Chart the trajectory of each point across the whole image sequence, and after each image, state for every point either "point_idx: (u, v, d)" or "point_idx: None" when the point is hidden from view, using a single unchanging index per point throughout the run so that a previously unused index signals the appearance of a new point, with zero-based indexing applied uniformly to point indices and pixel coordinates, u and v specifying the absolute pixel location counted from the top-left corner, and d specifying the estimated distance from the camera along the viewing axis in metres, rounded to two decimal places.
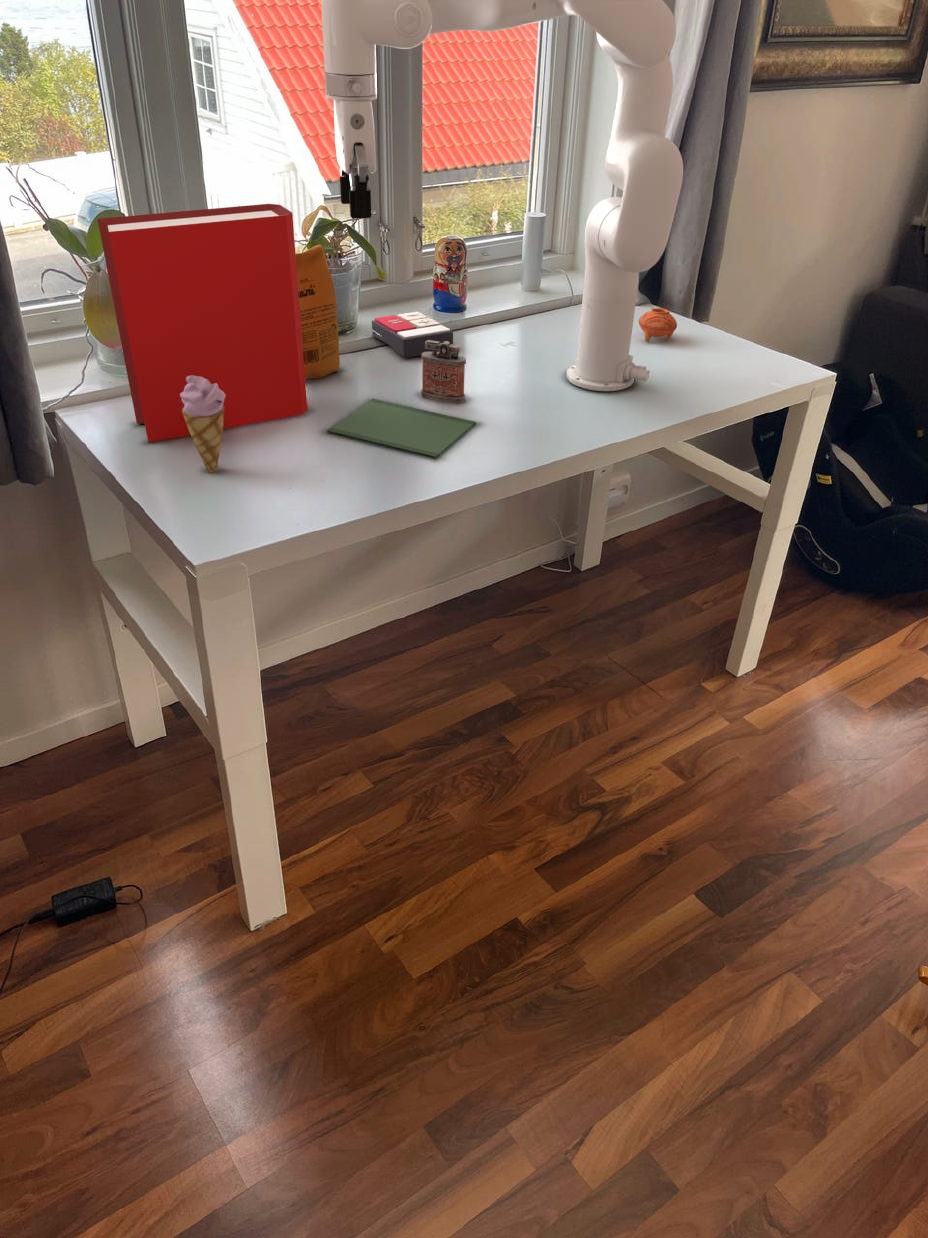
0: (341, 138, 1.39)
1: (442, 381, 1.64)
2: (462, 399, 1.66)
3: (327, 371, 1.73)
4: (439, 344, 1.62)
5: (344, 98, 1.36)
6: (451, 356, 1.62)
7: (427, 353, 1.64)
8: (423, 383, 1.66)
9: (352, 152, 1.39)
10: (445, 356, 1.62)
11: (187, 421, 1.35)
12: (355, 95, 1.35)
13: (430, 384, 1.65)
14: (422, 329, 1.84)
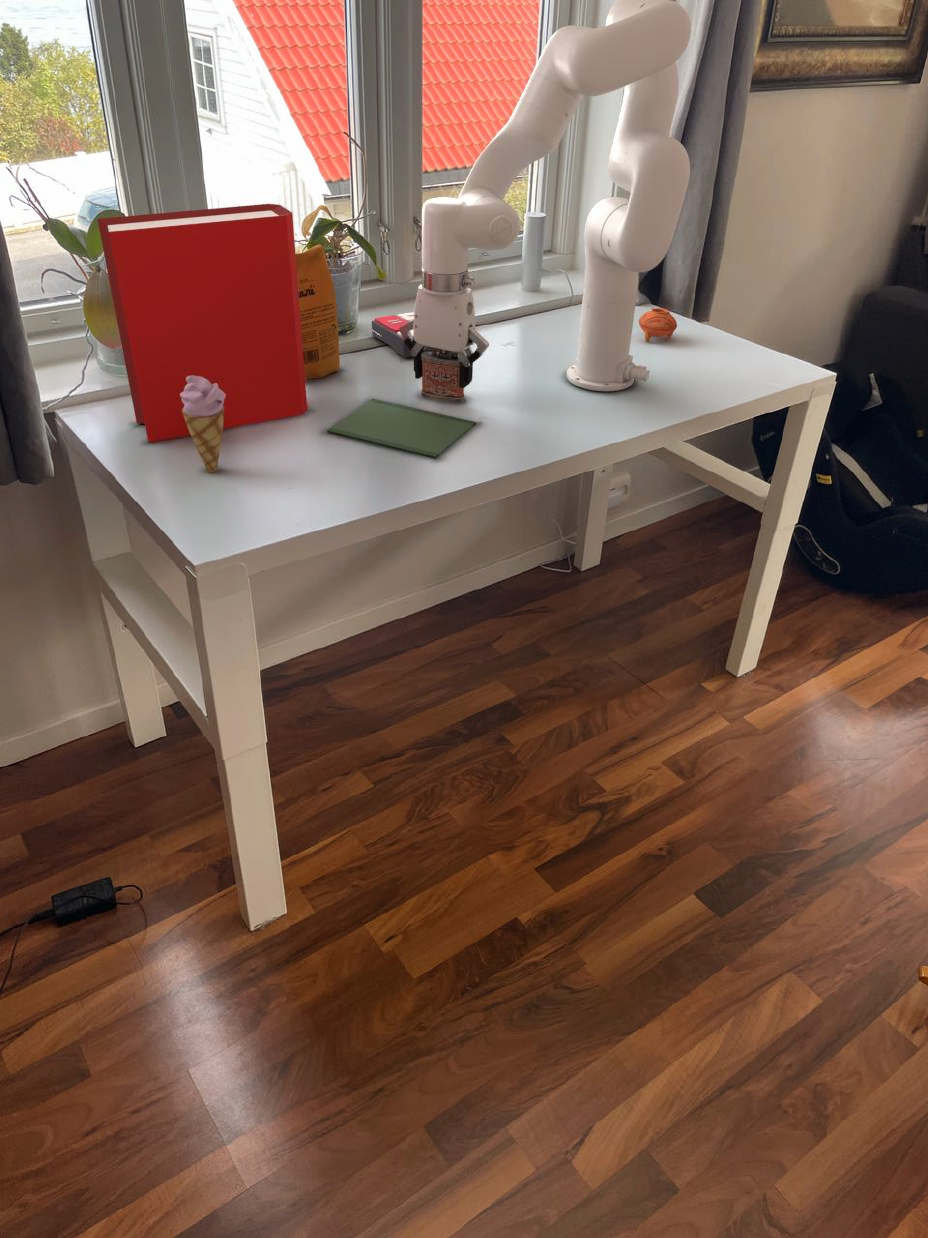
0: (456, 325, 1.56)
1: (442, 381, 1.64)
2: (462, 399, 1.66)
3: (327, 371, 1.73)
4: None
5: (458, 292, 1.54)
6: (451, 356, 1.62)
7: (427, 353, 1.64)
8: (423, 383, 1.66)
9: (467, 334, 1.58)
10: (445, 356, 1.62)
11: (187, 421, 1.35)
12: (465, 287, 1.54)
13: (430, 384, 1.65)
14: None
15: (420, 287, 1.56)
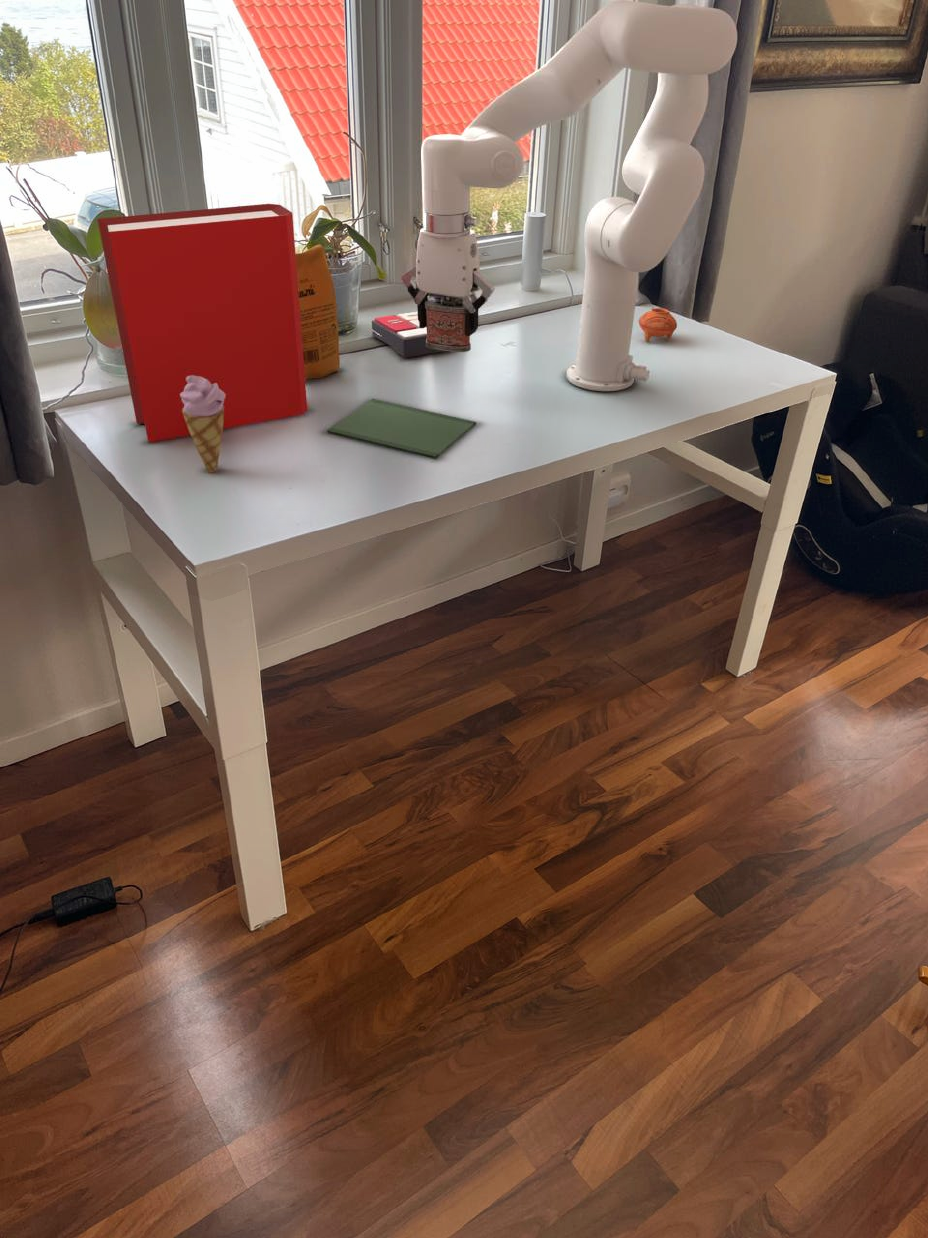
0: (459, 268, 1.51)
1: (447, 330, 1.59)
2: (468, 348, 1.61)
3: (327, 371, 1.73)
4: None
5: (461, 233, 1.48)
6: (455, 303, 1.57)
7: (431, 301, 1.59)
8: (428, 333, 1.61)
9: (472, 278, 1.52)
10: (449, 303, 1.57)
11: (187, 421, 1.35)
12: (468, 229, 1.49)
13: (435, 334, 1.60)
14: (422, 329, 1.84)
15: (422, 230, 1.51)
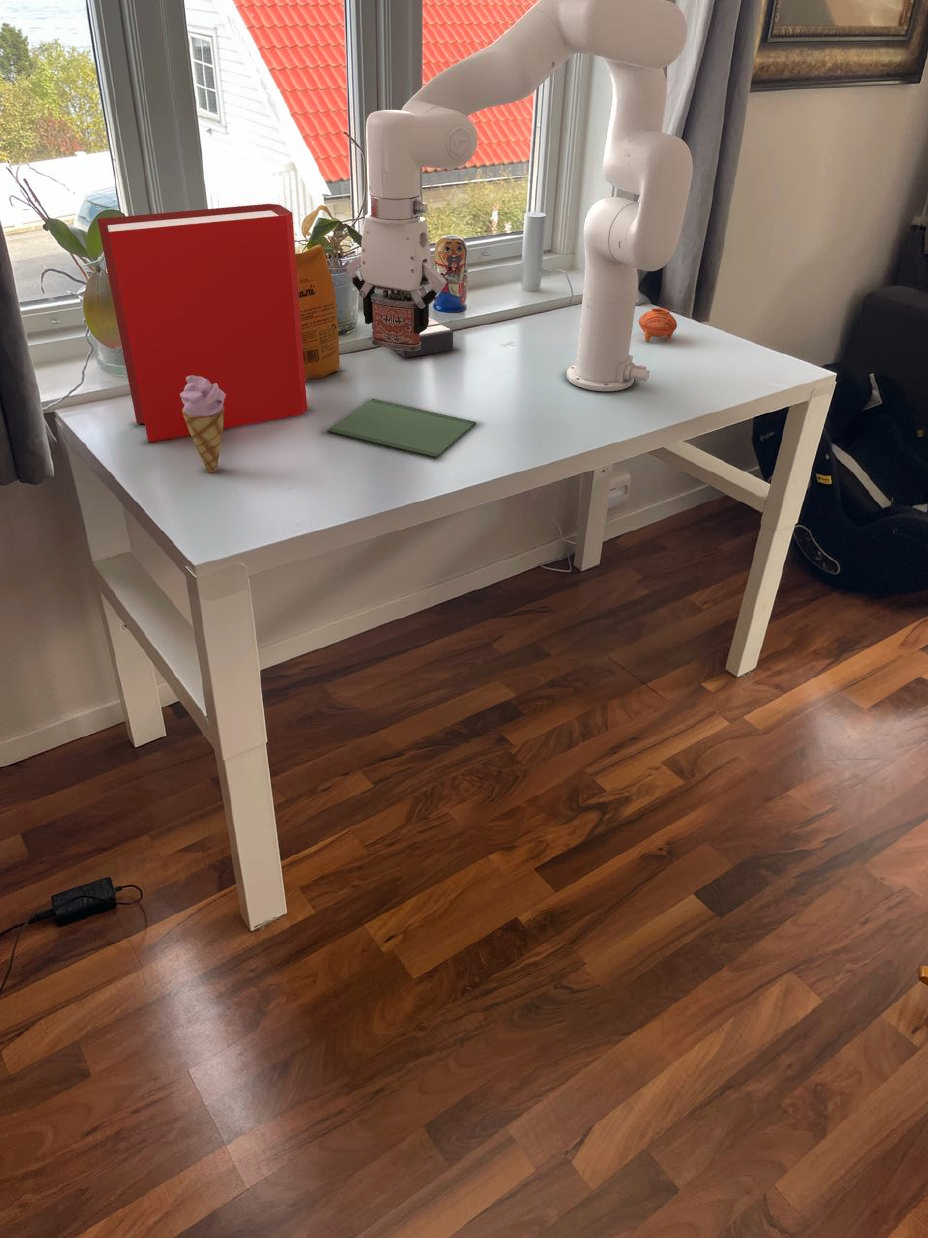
0: (407, 259, 1.37)
1: (395, 326, 1.45)
2: (418, 347, 1.47)
3: (327, 371, 1.73)
4: None
5: (409, 220, 1.35)
6: (404, 297, 1.43)
7: (378, 294, 1.45)
8: (374, 329, 1.47)
9: (421, 270, 1.39)
10: (397, 297, 1.43)
11: (187, 421, 1.35)
12: (417, 215, 1.35)
13: (381, 330, 1.47)
14: None
15: (367, 216, 1.37)
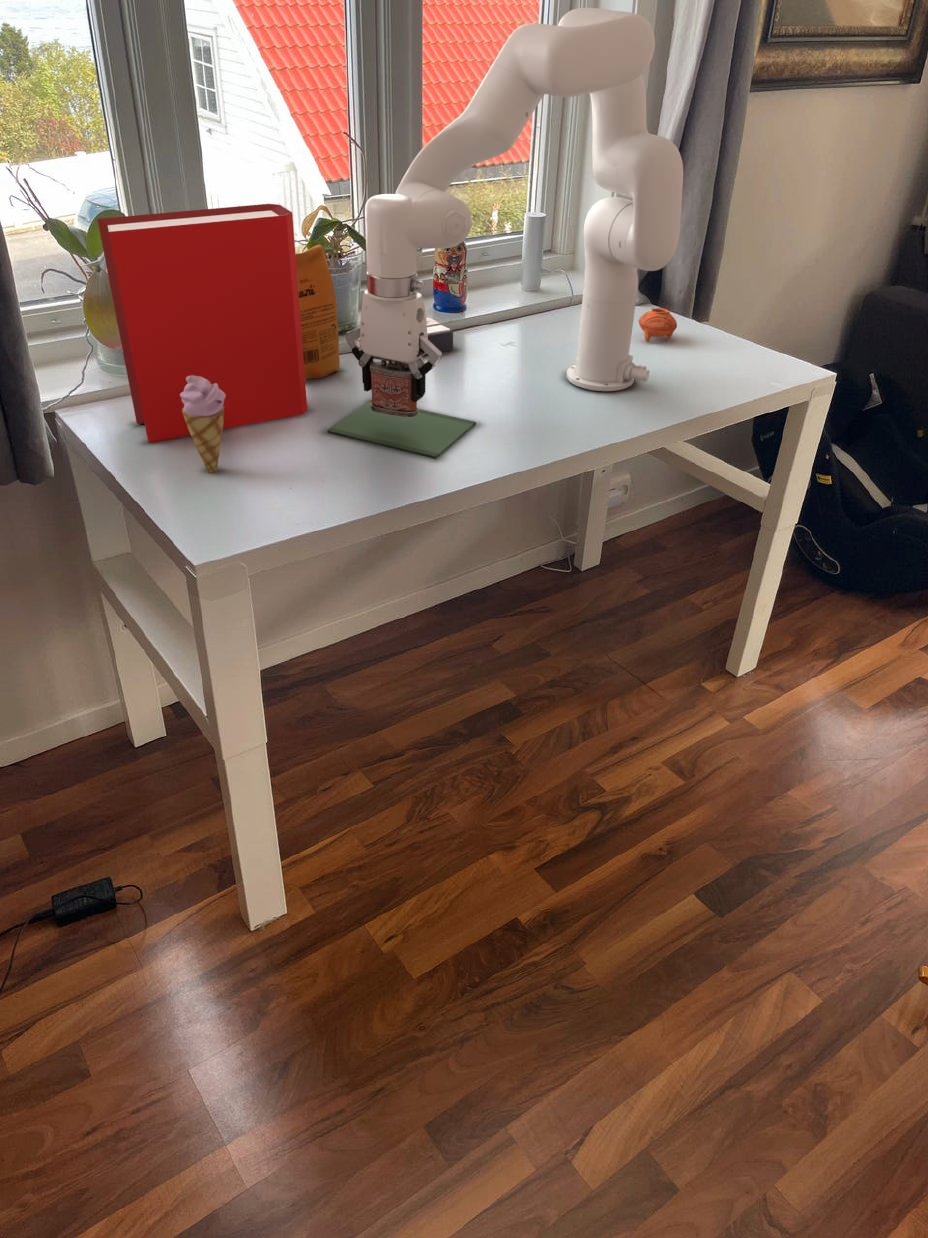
0: (405, 333, 1.43)
1: (393, 394, 1.51)
2: (415, 414, 1.52)
3: (327, 371, 1.73)
4: None
5: (407, 297, 1.40)
6: (401, 367, 1.49)
7: (376, 364, 1.51)
8: (373, 396, 1.53)
9: (418, 343, 1.44)
10: (395, 367, 1.49)
11: (187, 421, 1.35)
12: (414, 292, 1.41)
13: (380, 398, 1.52)
14: None
15: (366, 292, 1.43)
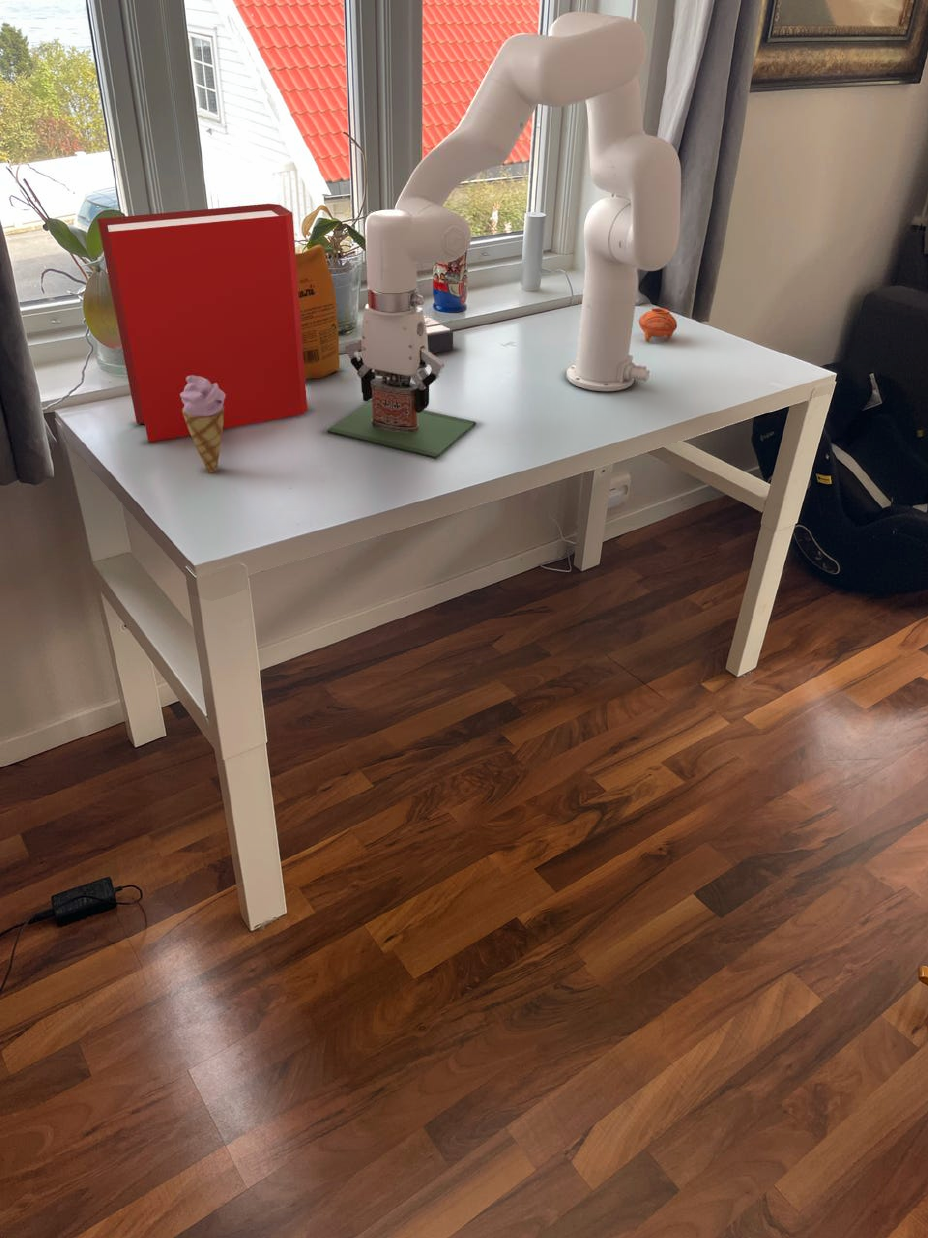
0: (405, 347, 1.44)
1: (393, 410, 1.52)
2: (415, 429, 1.54)
3: (327, 371, 1.73)
4: None
5: (407, 312, 1.42)
6: (402, 384, 1.51)
7: (377, 380, 1.52)
8: (374, 412, 1.54)
9: (419, 356, 1.46)
10: (396, 384, 1.50)
11: (187, 421, 1.35)
12: (414, 307, 1.42)
13: (380, 413, 1.54)
14: None
15: (367, 307, 1.44)
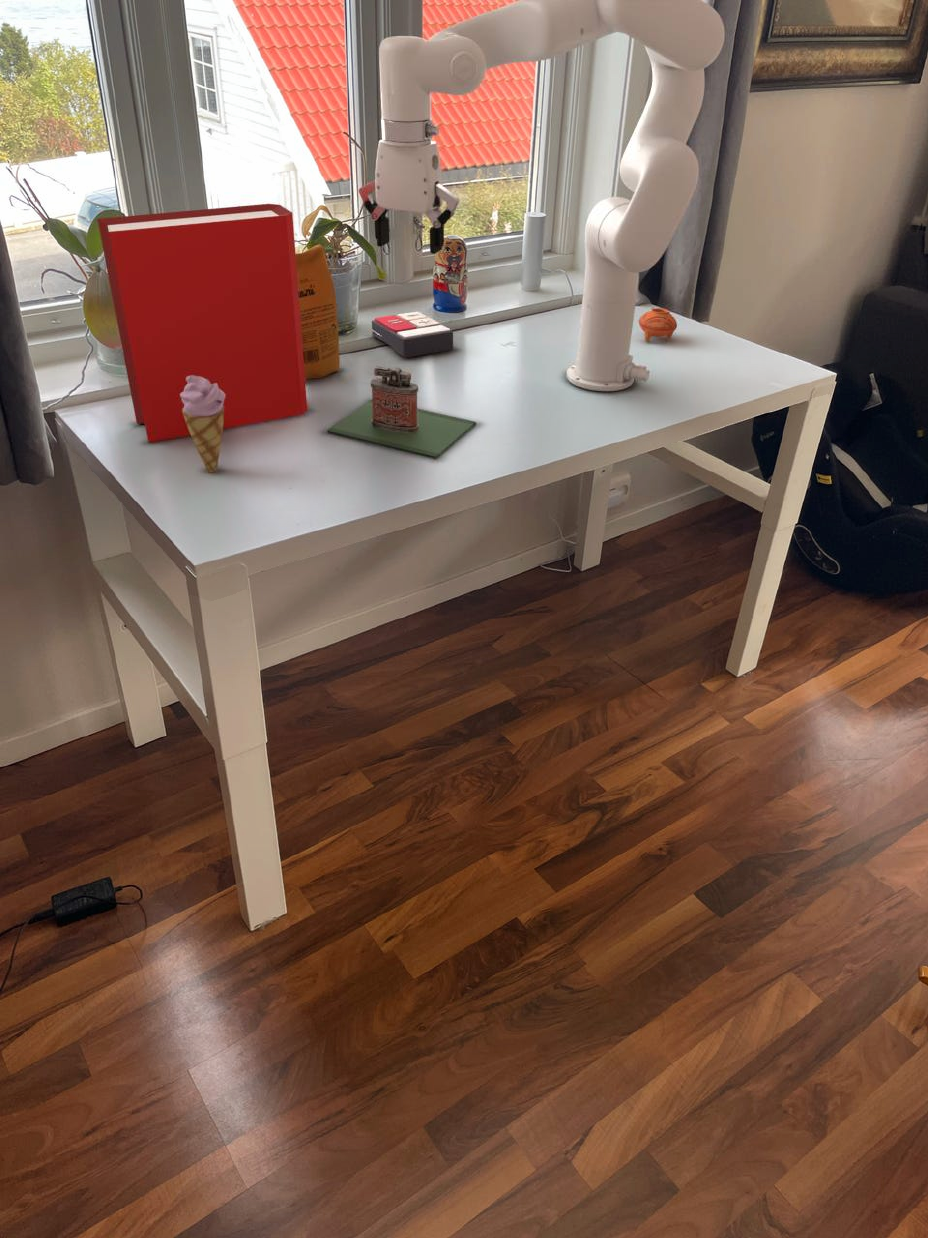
0: (420, 181, 1.44)
1: (393, 410, 1.52)
2: (415, 429, 1.54)
3: (327, 371, 1.73)
4: (389, 371, 1.50)
5: (422, 143, 1.42)
6: (402, 384, 1.51)
7: (377, 380, 1.52)
8: (374, 412, 1.54)
9: (434, 191, 1.46)
10: (396, 384, 1.50)
11: (187, 421, 1.35)
12: (429, 138, 1.42)
13: (380, 413, 1.54)
14: (422, 329, 1.84)
15: (381, 141, 1.44)
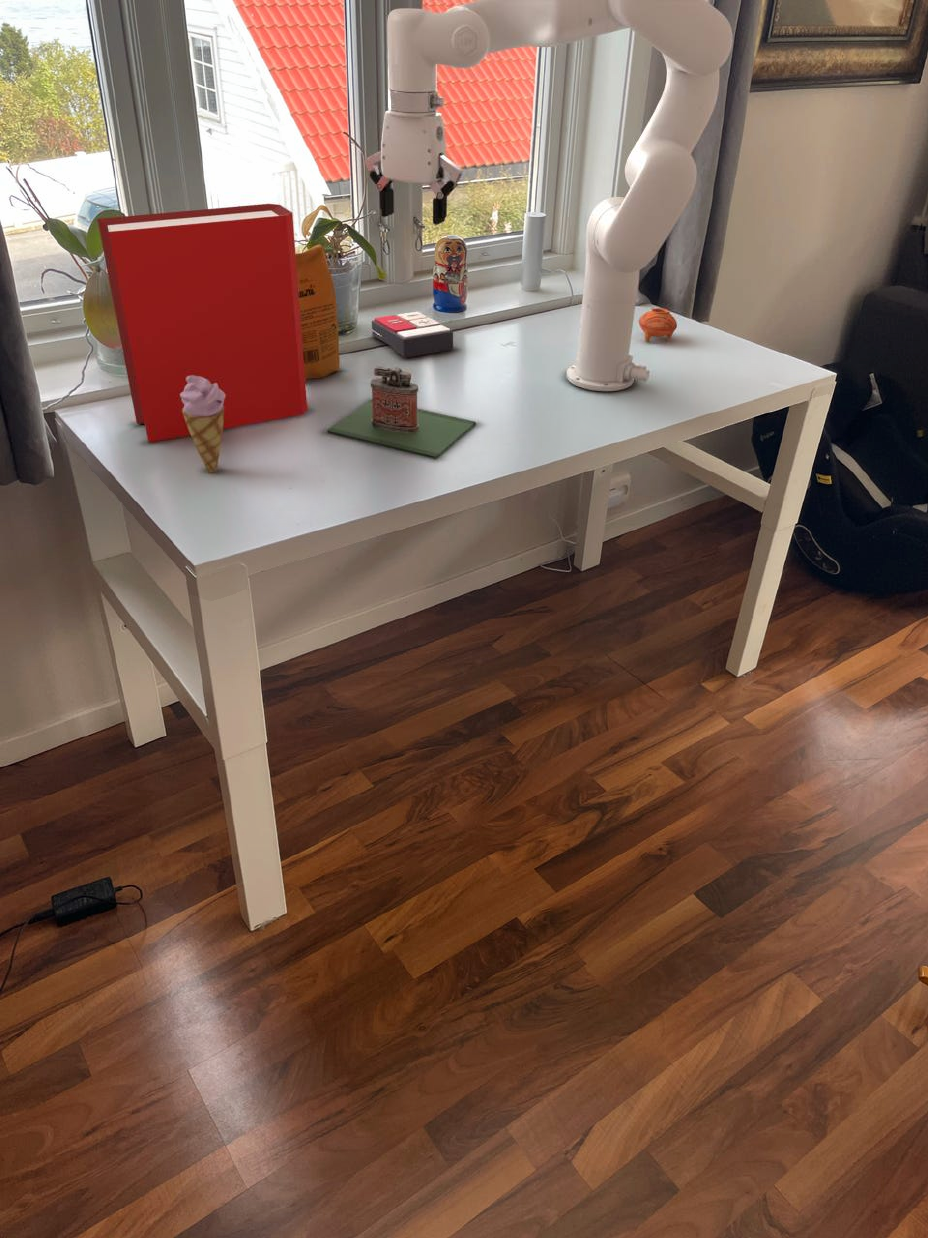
0: (425, 151, 1.47)
1: (393, 410, 1.52)
2: (415, 429, 1.54)
3: (327, 371, 1.73)
4: (389, 371, 1.50)
5: (427, 114, 1.45)
6: (402, 384, 1.51)
7: (377, 380, 1.52)
8: (374, 412, 1.54)
9: (438, 162, 1.49)
10: (396, 384, 1.50)
11: (187, 421, 1.35)
12: (434, 109, 1.45)
13: (380, 413, 1.54)
14: (422, 329, 1.84)
15: (387, 112, 1.47)
